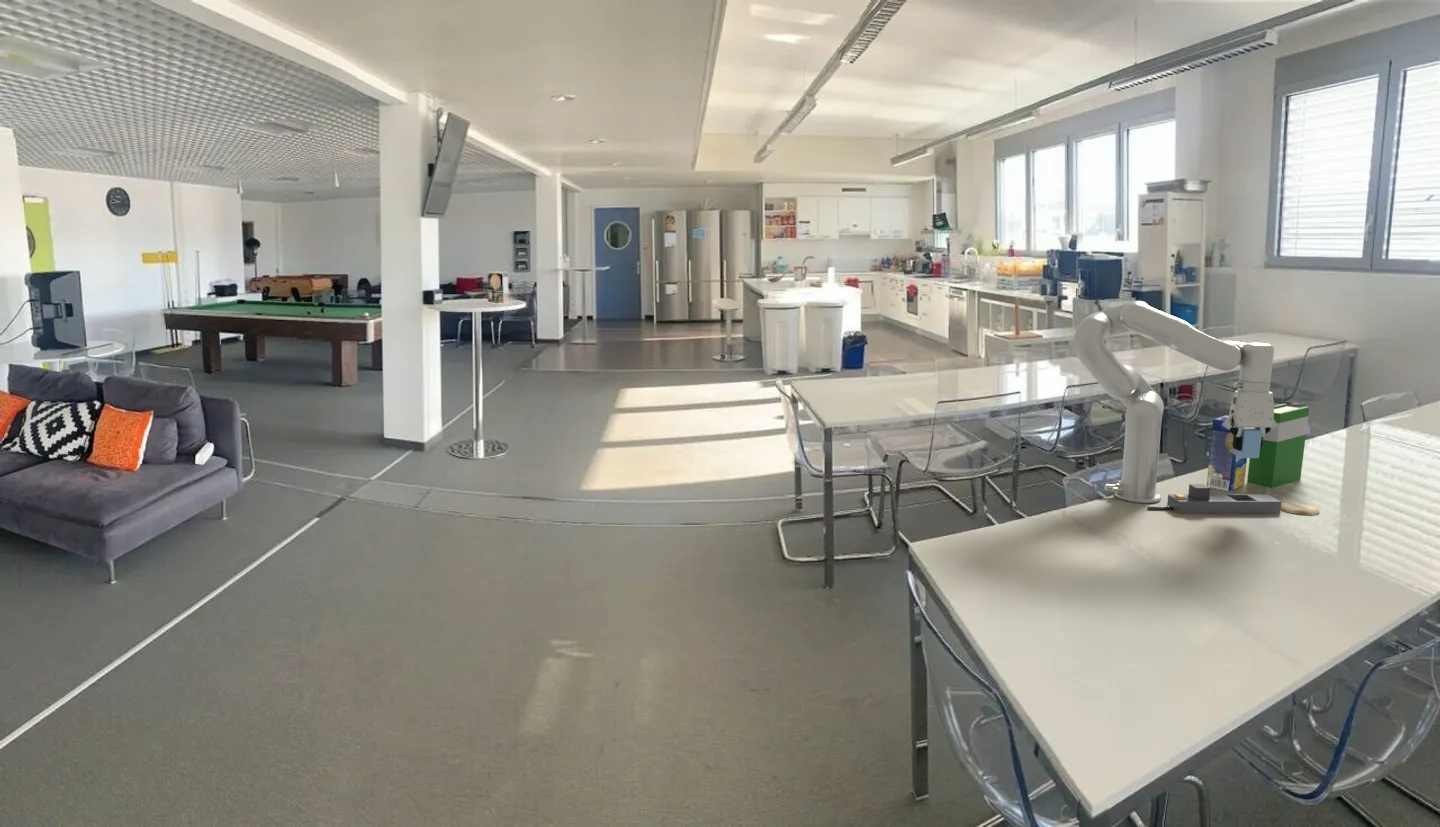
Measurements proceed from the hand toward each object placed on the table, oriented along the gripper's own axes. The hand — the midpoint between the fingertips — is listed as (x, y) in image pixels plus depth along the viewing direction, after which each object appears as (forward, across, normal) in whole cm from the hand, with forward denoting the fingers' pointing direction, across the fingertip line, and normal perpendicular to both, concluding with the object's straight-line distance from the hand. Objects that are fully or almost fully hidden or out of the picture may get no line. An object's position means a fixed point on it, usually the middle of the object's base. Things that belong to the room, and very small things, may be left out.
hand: (1246, 448), depth 235 cm
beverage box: (+18, +8, +24) cm, 31 cm away
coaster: (+18, +16, 0) cm, 24 cm away
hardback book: (+18, +26, +29) cm, 43 cm away
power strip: (+18, -8, 0) cm, 20 cm away
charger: (+2, 0, 0) cm, 2 cm away
